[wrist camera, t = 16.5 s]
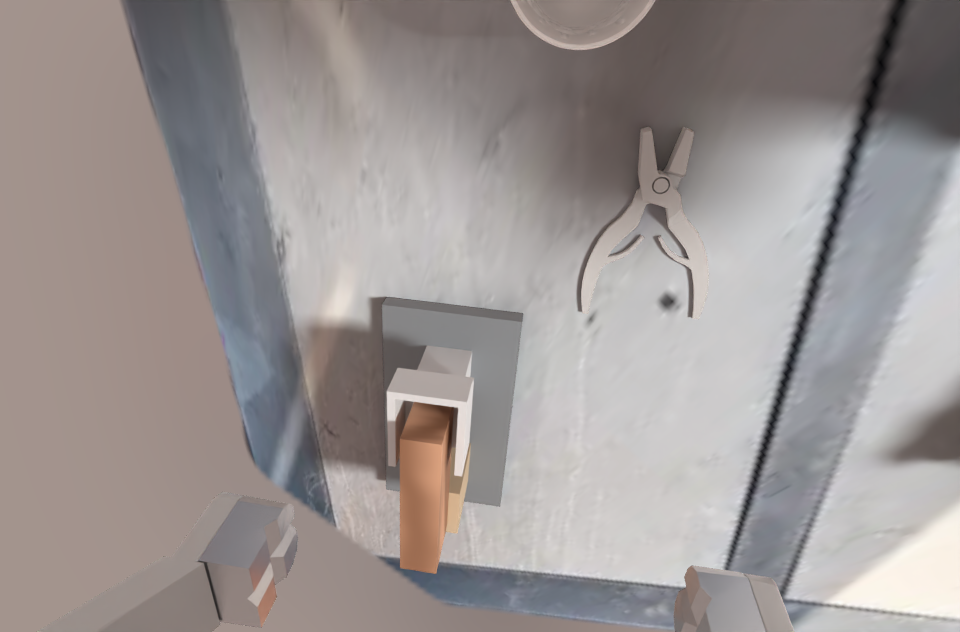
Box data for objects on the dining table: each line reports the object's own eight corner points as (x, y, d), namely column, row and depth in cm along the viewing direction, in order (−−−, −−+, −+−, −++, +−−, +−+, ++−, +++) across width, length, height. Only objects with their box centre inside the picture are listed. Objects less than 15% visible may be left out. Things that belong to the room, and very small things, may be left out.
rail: (454, 400, 43) (441, 445, 38) (447, 524, 50) (435, 573, 45) (416, 395, 43) (399, 438, 39) (414, 519, 50) (400, 567, 45)
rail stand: (523, 313, 47) (513, 389, 38) (501, 495, 58) (489, 590, 49) (386, 296, 48) (343, 367, 39) (390, 478, 59) (356, 568, 50)
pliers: (579, 318, 45) (595, 129, 38) (579, 309, 47) (594, 125, 40) (704, 324, 44) (744, 130, 37) (699, 315, 46) (738, 126, 38)
